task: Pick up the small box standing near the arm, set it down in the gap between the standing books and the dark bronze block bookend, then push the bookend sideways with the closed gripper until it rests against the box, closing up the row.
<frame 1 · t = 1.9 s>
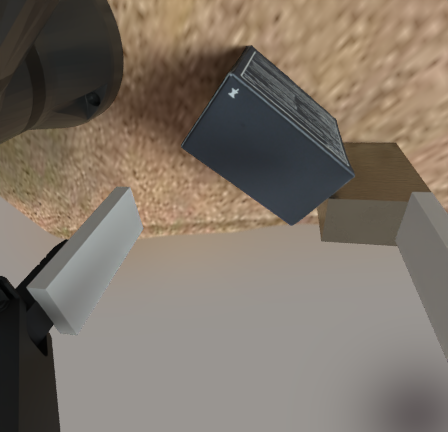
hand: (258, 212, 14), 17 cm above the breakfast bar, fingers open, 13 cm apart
bookend: (361, 188, 25), point 5 cm above the breakfast bar, slide at 0.0 cm
small box: (272, 111, 28), on the breakfast bar
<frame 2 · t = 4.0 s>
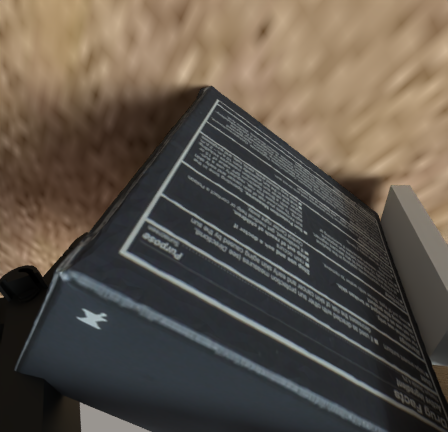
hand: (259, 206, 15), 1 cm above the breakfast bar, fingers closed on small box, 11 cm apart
bookend: (436, 359, 13), point 5 cm above the breakfast bar, slide at 0.0 cm
small box: (259, 195, 15), on the breakfast bar, touching gripper
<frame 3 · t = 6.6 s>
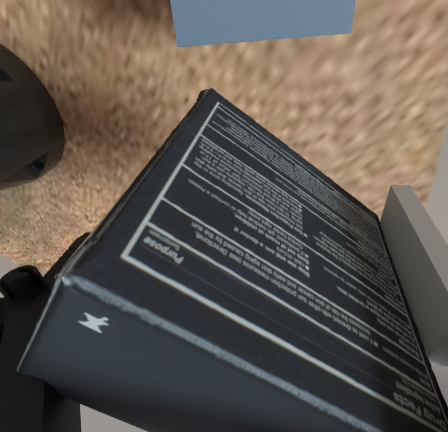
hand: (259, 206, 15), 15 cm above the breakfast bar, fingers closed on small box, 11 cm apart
small box: (259, 196, 15), point 14 cm above the breakfast bar, touching gripper
standing books: (272, 19, 22), on the breakfast bar
when the fingers open (3 cm above the breakfast bar, at t = 9.3 s): small box drops 2 cm, on the breakfast bar.
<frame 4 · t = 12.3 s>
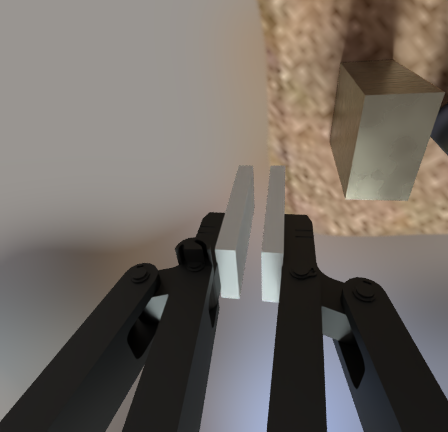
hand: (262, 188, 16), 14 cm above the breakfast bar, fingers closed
bookend: (370, 124, 22), point 5 cm above the breakfast bar, slide at 0.0 cm
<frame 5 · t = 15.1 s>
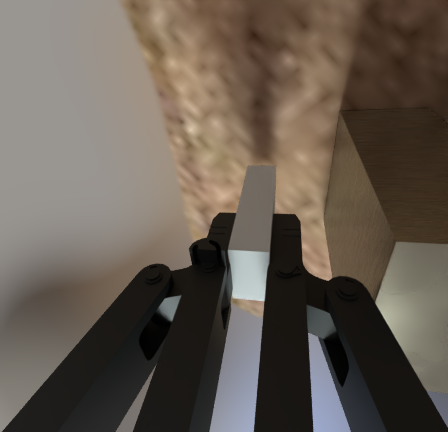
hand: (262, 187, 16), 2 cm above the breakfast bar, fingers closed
bookend: (392, 227, 13), point 5 cm above the breakfast bar, slide at 3.4 cm, touching hand
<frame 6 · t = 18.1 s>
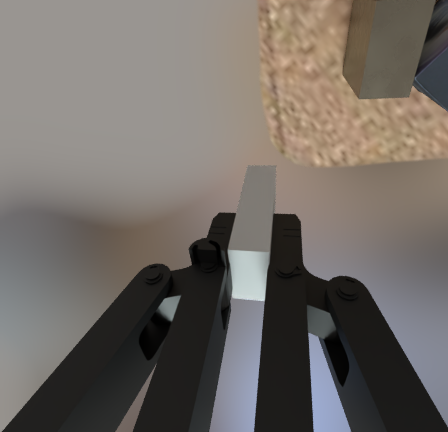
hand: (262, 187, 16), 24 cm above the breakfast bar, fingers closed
bookend: (378, 44, 27), point 5 cm above the breakfast bar, slide at 3.5 cm
small box: (446, 29, 30), on the breakfast bar
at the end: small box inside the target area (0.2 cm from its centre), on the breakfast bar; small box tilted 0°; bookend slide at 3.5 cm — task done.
